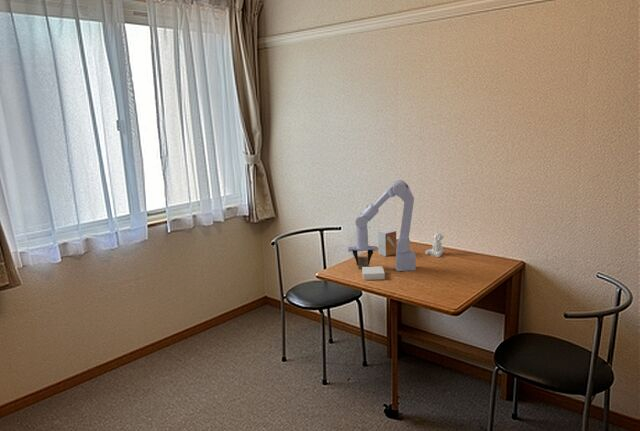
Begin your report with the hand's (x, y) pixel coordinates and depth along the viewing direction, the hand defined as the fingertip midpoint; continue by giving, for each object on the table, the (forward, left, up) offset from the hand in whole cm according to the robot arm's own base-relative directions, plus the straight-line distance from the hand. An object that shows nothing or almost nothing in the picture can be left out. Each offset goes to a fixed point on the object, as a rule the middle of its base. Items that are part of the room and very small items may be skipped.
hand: (363, 264), depth 239 cm
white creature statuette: (-41, -17, -2) cm, 44 cm away
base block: (-4, +13, -2) cm, 14 cm away
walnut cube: (0, 0, -2) cm, 2 cm away
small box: (-15, -21, -2) cm, 26 cm away
